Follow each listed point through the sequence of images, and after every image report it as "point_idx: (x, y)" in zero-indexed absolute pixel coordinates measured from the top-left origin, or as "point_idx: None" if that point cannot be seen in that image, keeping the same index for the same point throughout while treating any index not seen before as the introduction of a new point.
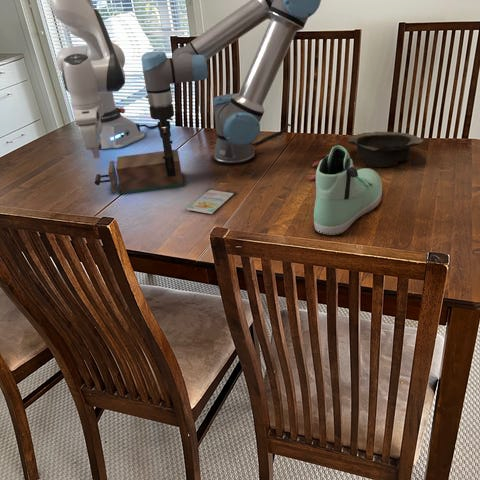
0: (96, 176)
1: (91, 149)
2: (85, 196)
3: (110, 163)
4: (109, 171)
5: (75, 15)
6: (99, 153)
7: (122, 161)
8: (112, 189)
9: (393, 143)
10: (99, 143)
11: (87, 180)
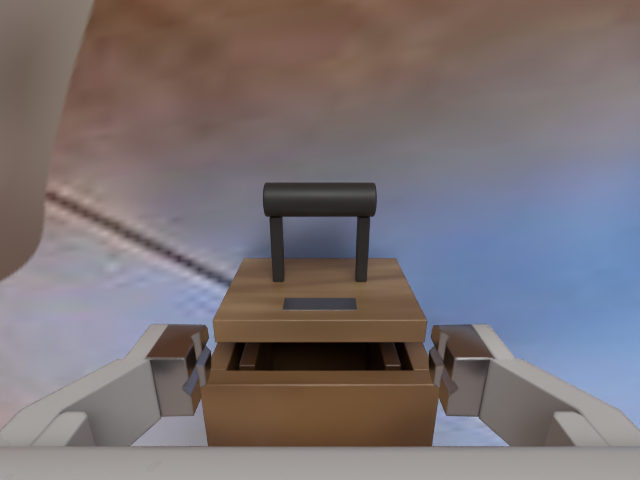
0: (339, 195)
1: (28, 413)
2: (265, 100)
3: (380, 325)
4: (222, 327)
5: None
6: (197, 393)
7: (329, 417)
8: (240, 265)
9: None
10: (481, 404)
11: (506, 87)
